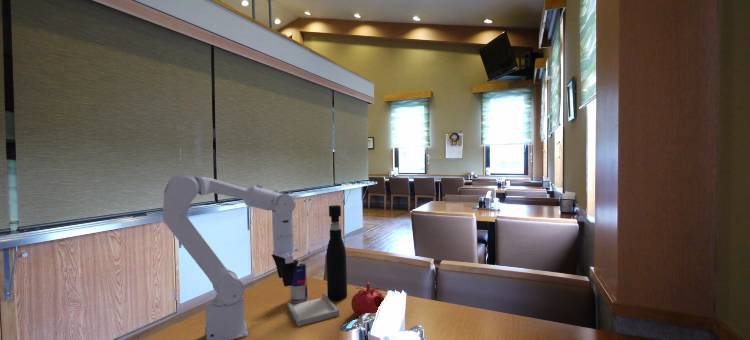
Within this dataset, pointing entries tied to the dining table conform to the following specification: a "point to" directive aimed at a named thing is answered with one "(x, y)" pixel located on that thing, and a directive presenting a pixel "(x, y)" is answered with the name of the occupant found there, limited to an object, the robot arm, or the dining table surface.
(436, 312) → the dining table surface
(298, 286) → the energy drink
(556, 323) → the dining table surface
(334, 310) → the tray
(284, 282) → the robot arm
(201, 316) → the dining table surface
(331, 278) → the black bottle
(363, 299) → the pomegranate
